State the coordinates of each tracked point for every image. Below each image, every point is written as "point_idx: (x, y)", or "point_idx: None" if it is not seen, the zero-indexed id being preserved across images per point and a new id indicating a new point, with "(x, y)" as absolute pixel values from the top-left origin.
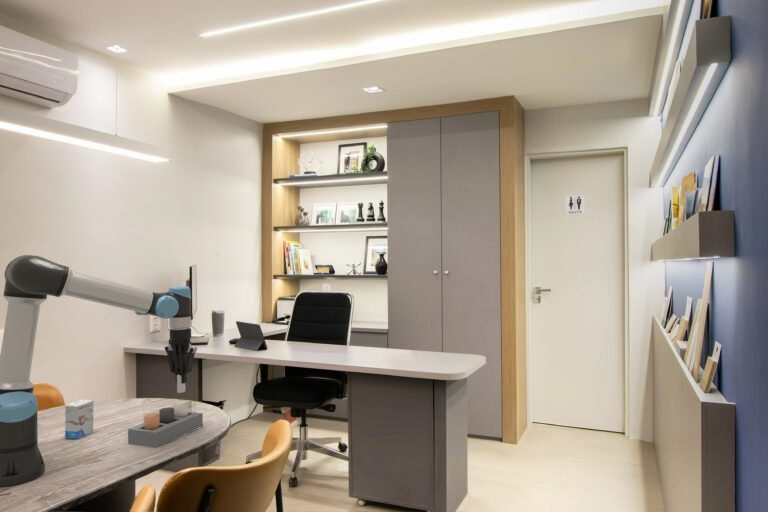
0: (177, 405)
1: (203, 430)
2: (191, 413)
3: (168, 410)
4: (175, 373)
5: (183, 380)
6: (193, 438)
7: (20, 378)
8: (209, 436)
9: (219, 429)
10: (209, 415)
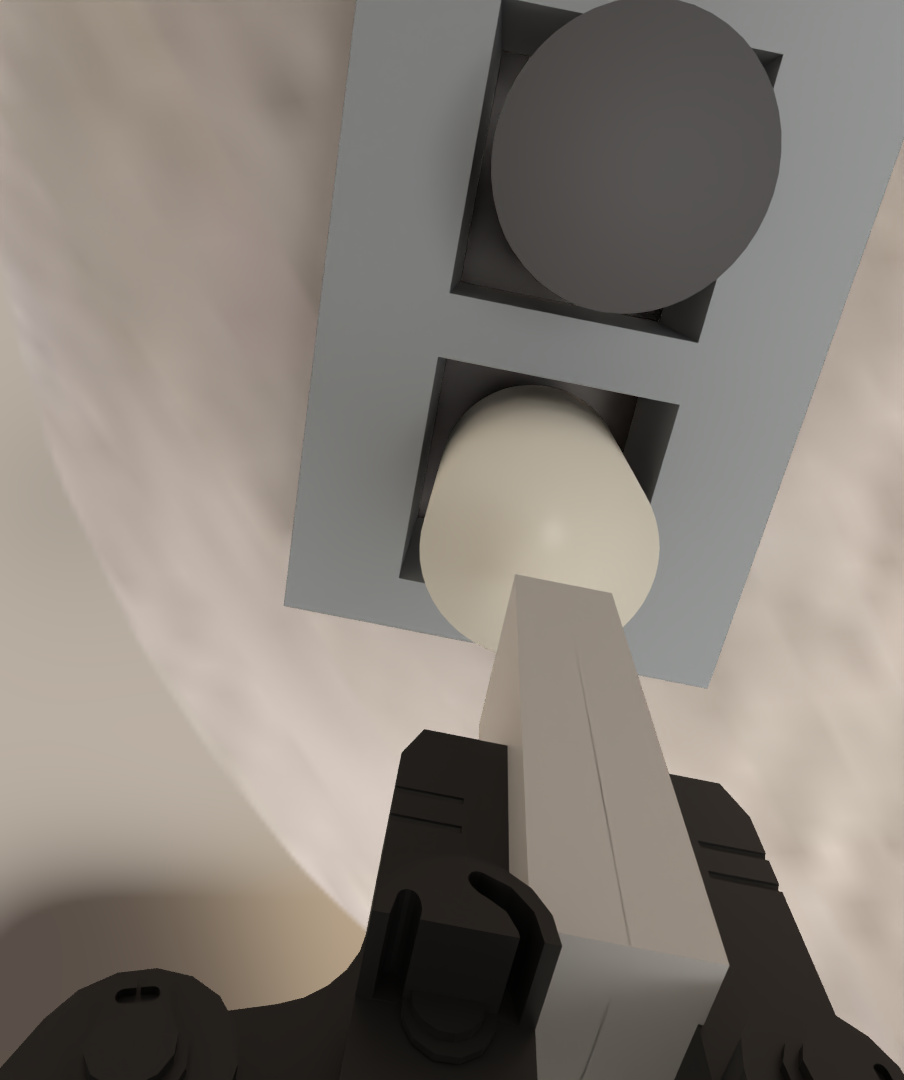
0: (562, 469)
1: (238, 416)
2: None
3: (567, 99)
4: (844, 1056)
5: (419, 797)
6: (182, 105)
7: None
8: (43, 214)
9: (88, 472)
10: None
